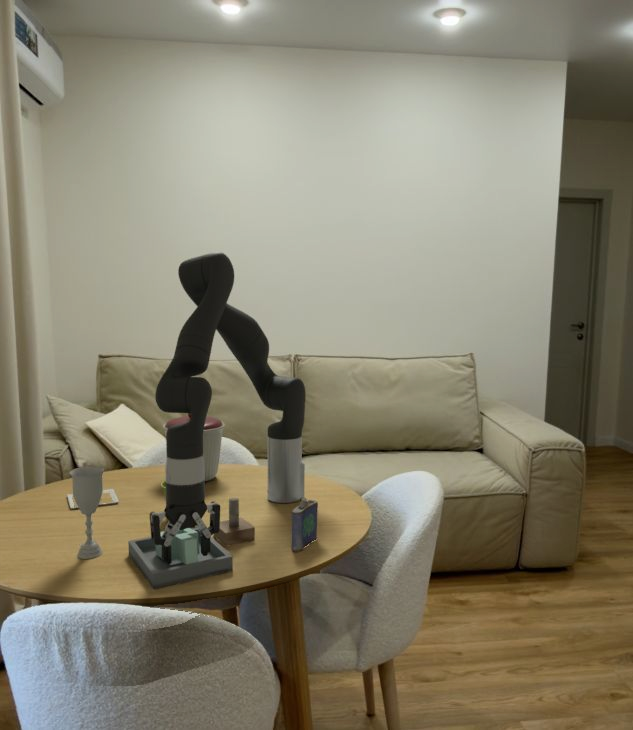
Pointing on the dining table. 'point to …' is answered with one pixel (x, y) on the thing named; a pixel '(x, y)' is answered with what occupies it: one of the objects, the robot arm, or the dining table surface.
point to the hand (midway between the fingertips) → (186, 558)
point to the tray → (178, 563)
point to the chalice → (88, 503)
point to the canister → (206, 442)
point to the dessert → (112, 494)
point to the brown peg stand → (235, 527)
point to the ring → (183, 546)
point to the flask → (304, 524)
